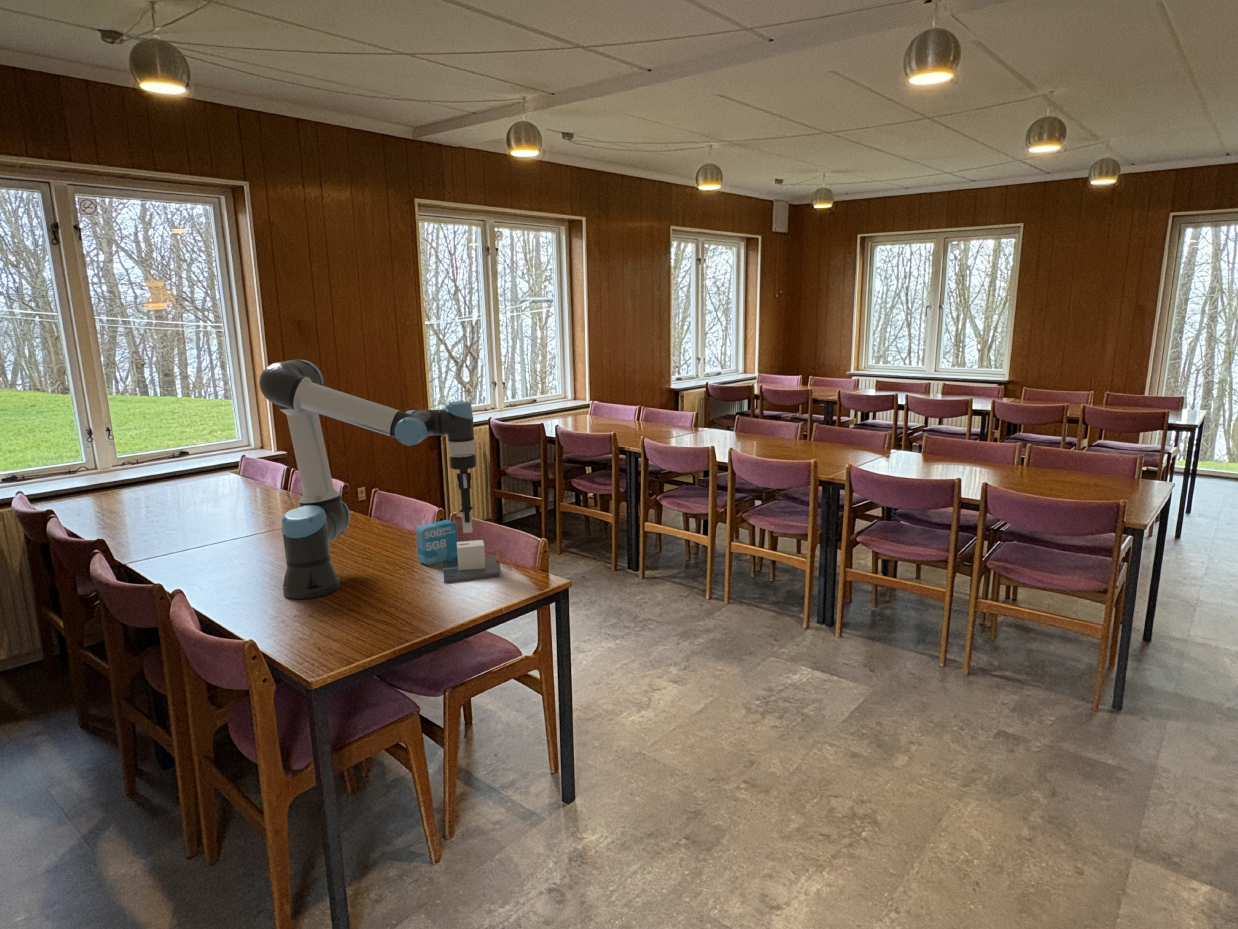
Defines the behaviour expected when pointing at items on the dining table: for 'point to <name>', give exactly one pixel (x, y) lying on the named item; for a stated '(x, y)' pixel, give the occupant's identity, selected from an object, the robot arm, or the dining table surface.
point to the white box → (471, 555)
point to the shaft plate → (470, 571)
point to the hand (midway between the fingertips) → (467, 531)
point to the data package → (437, 542)
